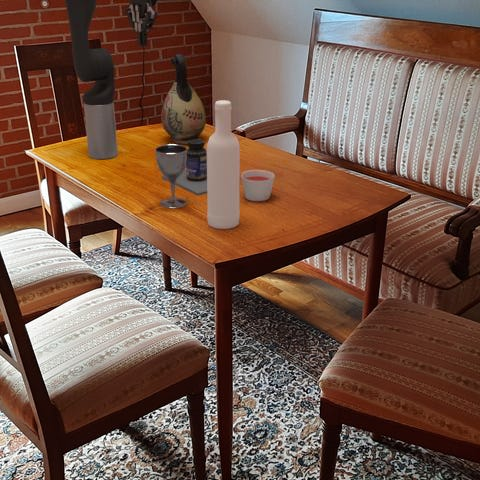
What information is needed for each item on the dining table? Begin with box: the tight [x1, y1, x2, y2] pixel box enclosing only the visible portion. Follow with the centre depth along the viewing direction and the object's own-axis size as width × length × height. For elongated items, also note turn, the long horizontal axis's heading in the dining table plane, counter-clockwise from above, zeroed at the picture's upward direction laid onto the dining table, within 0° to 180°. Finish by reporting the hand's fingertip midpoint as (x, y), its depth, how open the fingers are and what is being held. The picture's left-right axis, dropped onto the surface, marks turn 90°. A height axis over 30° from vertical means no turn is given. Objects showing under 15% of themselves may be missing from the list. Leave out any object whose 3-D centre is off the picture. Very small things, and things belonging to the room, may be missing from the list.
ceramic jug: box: [160, 53, 207, 145], centre depth 211 cm, size 17×15×30 cm
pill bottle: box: [185, 138, 207, 181], centre depth 179 cm, size 6×6×11 cm
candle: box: [240, 169, 275, 202], centre depth 168 cm, size 9×9×6 cm
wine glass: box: [155, 143, 188, 209], centre depth 162 cm, size 8×8×15 cm
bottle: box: [206, 99, 241, 230], centre depth 147 cm, size 8×8×30 cm
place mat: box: [161, 169, 207, 196], centre depth 180 cm, size 18×12×1 cm, turn 39°
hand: (142, 45), depth 170 cm, fingers closed
